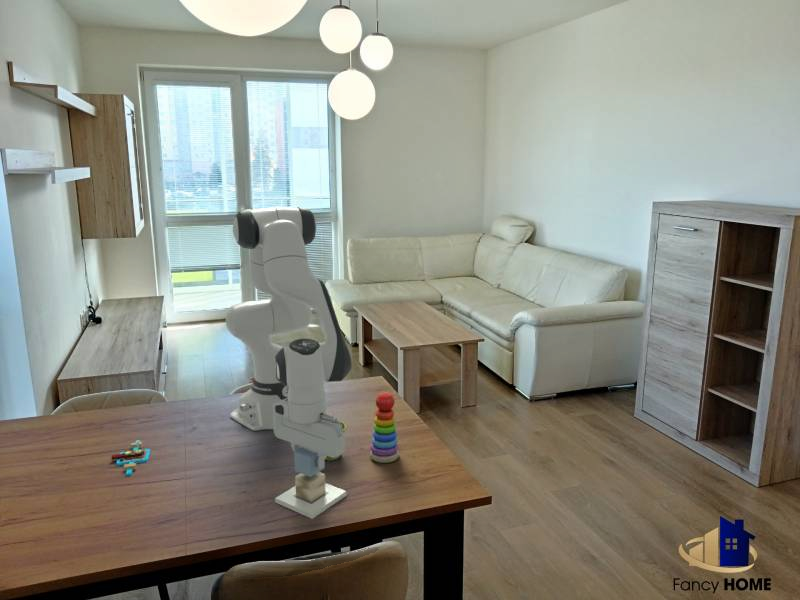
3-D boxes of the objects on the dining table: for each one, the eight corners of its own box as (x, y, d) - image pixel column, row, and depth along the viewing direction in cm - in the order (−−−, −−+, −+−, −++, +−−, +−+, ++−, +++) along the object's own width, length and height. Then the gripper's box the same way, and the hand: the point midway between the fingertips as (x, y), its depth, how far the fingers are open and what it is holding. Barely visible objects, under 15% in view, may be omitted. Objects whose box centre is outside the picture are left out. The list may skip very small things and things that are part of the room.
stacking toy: (395, 465, 162) (395, 400, 158) (367, 462, 164) (365, 398, 160) (401, 452, 170) (401, 389, 166) (374, 449, 171) (372, 387, 167)
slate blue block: (294, 470, 144) (293, 451, 143) (309, 462, 148) (308, 443, 147) (310, 476, 141) (309, 457, 140) (324, 468, 145) (324, 449, 144)
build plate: (275, 502, 145) (275, 497, 145) (310, 481, 155) (310, 476, 154) (312, 518, 138) (312, 513, 138) (346, 495, 148) (346, 490, 148)
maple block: (296, 495, 146) (295, 476, 144) (310, 486, 150) (309, 468, 148) (311, 502, 143) (310, 482, 142) (325, 492, 147) (324, 473, 146)
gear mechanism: (106, 480, 157) (145, 475, 159) (103, 461, 155) (142, 456, 158) (118, 446, 175) (152, 441, 178) (116, 429, 174) (151, 424, 177)
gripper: (350, 414, 138) (351, 470, 141) (286, 395, 149) (289, 447, 152) (331, 424, 133) (333, 481, 136) (267, 403, 144) (270, 456, 147)
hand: (309, 463), depth 144 cm, fingers closed on slate blue block, 5 cm apart
